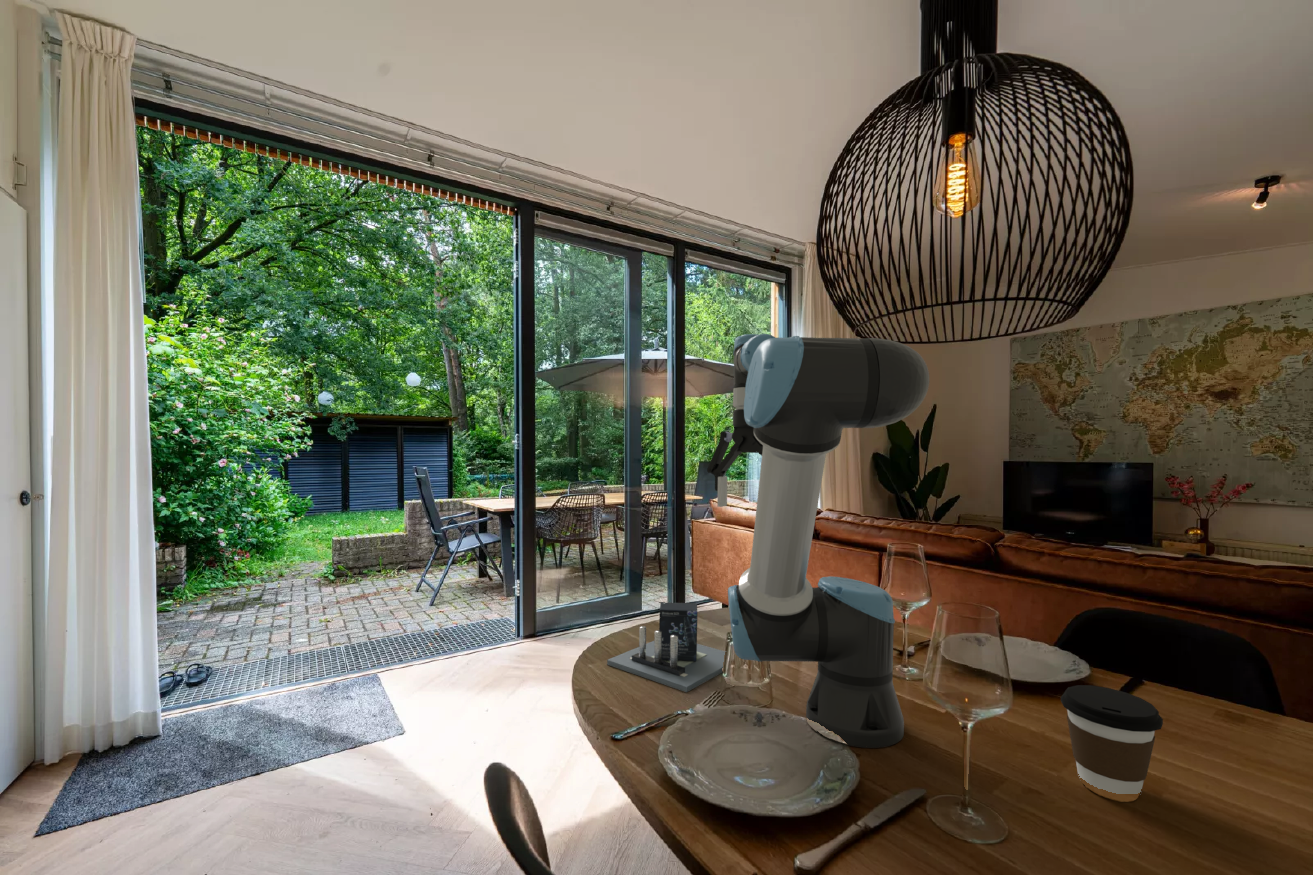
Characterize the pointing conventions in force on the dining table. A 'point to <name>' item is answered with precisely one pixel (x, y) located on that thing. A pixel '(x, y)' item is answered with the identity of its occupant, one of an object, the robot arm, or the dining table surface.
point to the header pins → (658, 653)
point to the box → (679, 629)
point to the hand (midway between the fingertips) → (749, 509)
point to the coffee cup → (1111, 736)
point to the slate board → (695, 672)
